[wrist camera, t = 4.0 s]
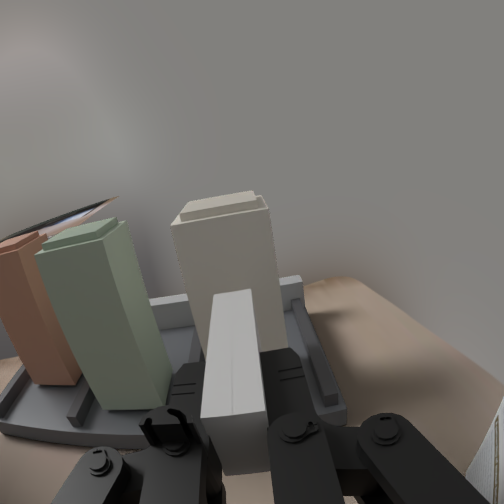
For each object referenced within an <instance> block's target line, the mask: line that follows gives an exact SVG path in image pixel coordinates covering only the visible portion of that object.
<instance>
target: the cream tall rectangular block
mask: <svg viewBox="0 0 504 504" xmlns="http://www.w3.org/2000/svg"><path fill="white" fill-rule="evenodd" d="M170 227H171V232H172V236H173V240H174V245H175V249H176V253H177V257H178V261H179V265H180V269H181V273H182V277H183V281H184V285H185V289H186V293H187V297H188V300H189V304H190V308H191V311H192V315H193V319H194V322H195V326H196V329H197V333H198V336H199V340H200V343H201V347H202V350H203V353H204V357H205V360H206V357H207V348H208V339H209V330H210V321H211V313H212V305H213V296H214V295H215V294H221V293H228V292H234V291H240V290H246V289H251V292H252V298H253V303H254V309H255V315H256V320H257V326H258V331H259V337H260V342H261V349H262V352H265V351H271V350H277V349H282V348H288V342H287V335H286V327H285V319H284V312H283V304H282V297H281V289H280V282H279V275H278V268H277V261H276V254H275V247H274V240H273V233H272V227H271V220H270V213H269V208H268V206H267V204H266V202H265V201H264V199H263V197H262V195H258V196H255V195H254V192H253V190H252V191H246V192H240V193H234V194H229V195H223V196H217V197H211V198H206V199H200V200H196V201H190V202H188V203H187V204H186V206H185V207H184V208H183V209H182V211H181V212H180V213H179V215H178V216H177V218H176V219H175V220H174V222H173V223H172V224H171V226H170Z"/></svg>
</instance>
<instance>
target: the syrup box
mask: <svg viewBox="0 0 504 504" xmlns="http://www.w3.org/2000/svg"><path fill="white" fill-rule="evenodd" d="M465 478H466V479H467V480H468V481H469V482H470V483H471V484H472V485H473V486H474V487H475V489H476V490H477V491H478V492H479V493H480V494H481V495H482V496H483V497H484V498H485V499H486V500H487V501H488V502H489V503H490V504H504V397H503V399H502V402H501V404H500V406H499V409H498V411H497V413H496V415H495V417H494V419H493V422H492V424H491V426H490V428H489V430H488V432H487V434H486V436H485V438H484V440H483V442H482V444H481V446H480V448H479V450H478V452H477V453H476V455H475V457H474V459H473V461H472V462H471V464H470V466H469V467H468V469H467V471H466V476H465Z"/></svg>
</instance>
